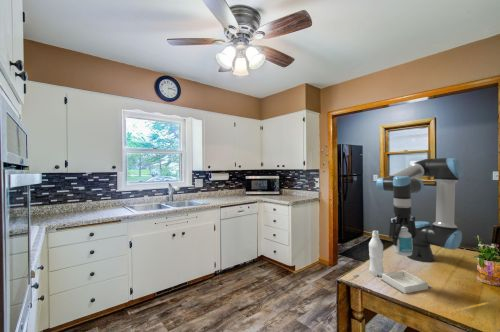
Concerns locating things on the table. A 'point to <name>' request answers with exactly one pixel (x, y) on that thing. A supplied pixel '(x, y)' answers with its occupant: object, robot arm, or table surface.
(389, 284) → the mat
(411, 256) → the robot arm
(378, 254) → the water bottle
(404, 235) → the pill bottle
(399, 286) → the tray
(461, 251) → the table surface
